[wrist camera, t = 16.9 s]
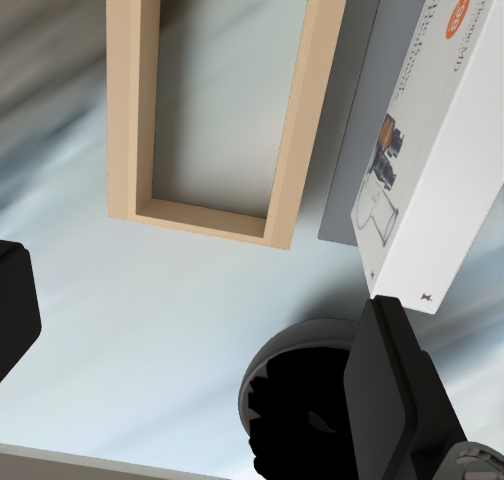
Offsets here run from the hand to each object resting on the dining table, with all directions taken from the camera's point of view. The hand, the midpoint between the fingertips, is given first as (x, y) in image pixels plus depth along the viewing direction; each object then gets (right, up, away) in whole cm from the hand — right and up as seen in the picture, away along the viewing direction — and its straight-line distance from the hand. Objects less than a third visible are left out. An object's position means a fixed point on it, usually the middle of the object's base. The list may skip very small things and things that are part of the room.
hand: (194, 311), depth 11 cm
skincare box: (+16, +13, +26) cm, 34 cm away
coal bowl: (+11, -12, +40) cm, 43 cm away
